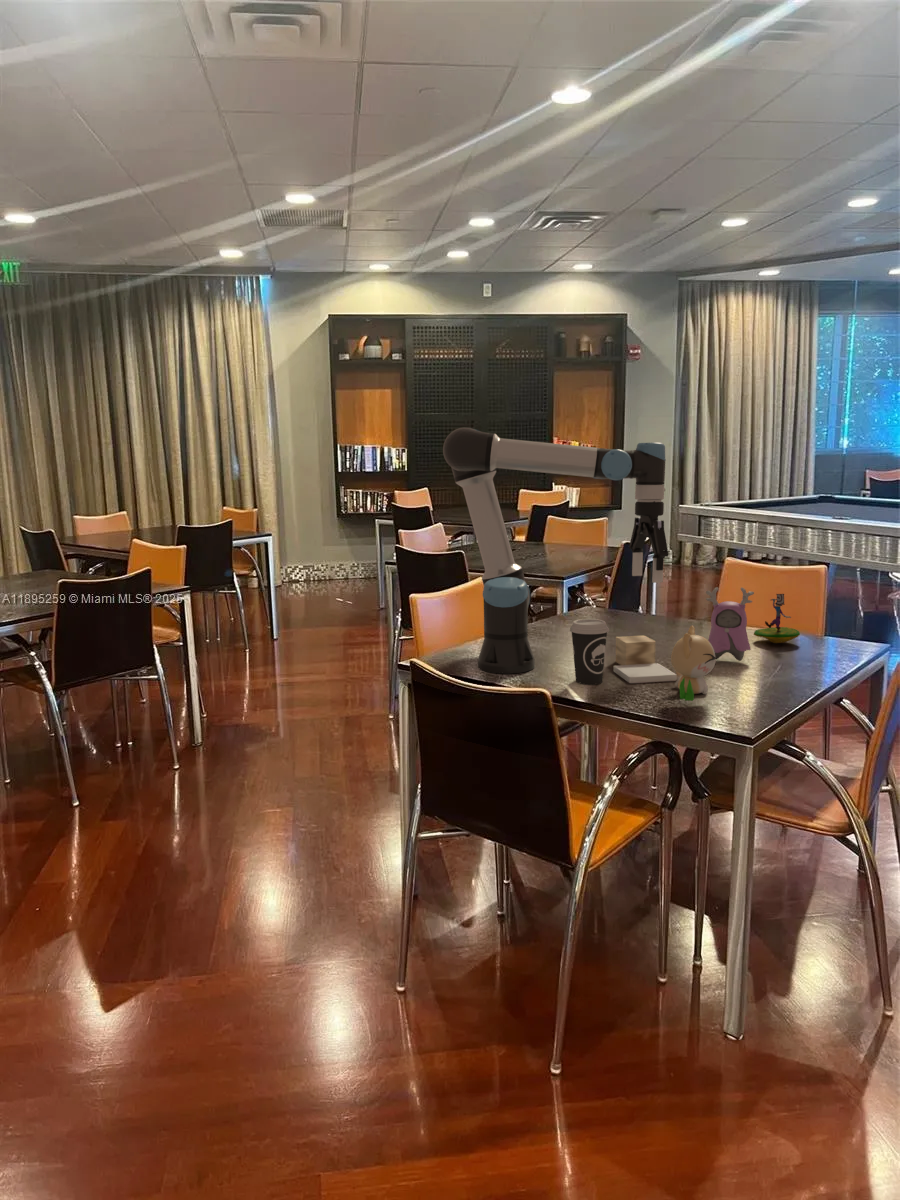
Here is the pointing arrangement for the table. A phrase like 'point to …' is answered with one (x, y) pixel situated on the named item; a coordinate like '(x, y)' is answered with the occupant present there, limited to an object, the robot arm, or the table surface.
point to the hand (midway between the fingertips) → (647, 579)
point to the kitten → (692, 664)
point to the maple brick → (635, 650)
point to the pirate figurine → (778, 632)
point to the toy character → (729, 626)
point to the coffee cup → (589, 650)
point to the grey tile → (644, 673)
